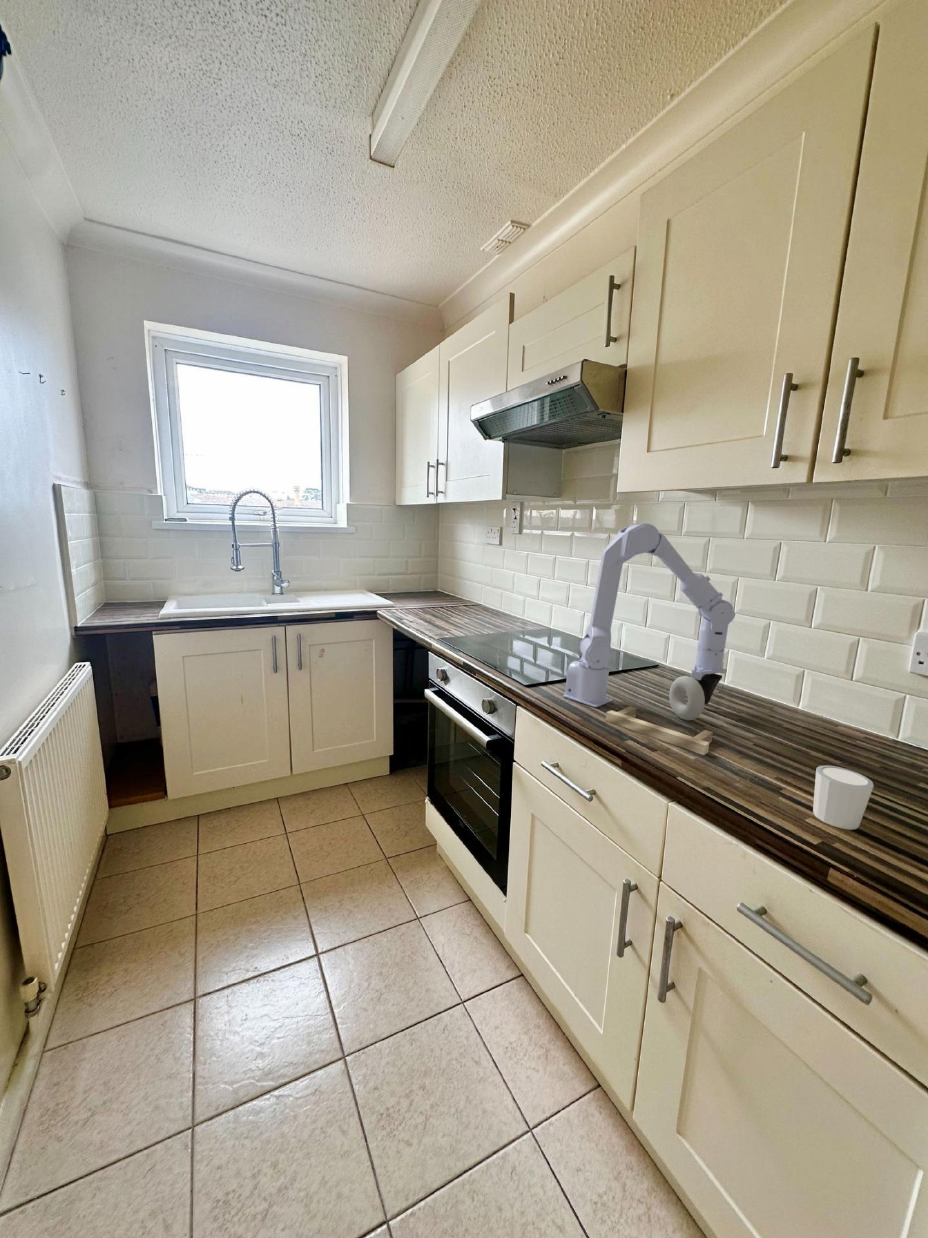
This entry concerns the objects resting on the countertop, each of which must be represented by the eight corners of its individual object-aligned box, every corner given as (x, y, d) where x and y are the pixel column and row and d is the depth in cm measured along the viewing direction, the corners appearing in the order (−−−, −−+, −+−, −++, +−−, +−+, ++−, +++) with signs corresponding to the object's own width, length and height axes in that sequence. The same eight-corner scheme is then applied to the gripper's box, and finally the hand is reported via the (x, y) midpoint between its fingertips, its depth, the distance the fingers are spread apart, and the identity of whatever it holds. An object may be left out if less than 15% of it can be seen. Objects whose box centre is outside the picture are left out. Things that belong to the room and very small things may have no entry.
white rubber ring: (704, 727, 107) (711, 683, 106) (691, 728, 107) (697, 684, 105) (676, 710, 117) (681, 670, 115) (663, 711, 116) (668, 670, 114)
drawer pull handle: (605, 720, 108) (606, 712, 108) (623, 712, 114) (624, 704, 113) (703, 755, 94) (705, 745, 93) (719, 744, 99) (720, 734, 99)
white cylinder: (872, 837, 70) (882, 792, 69) (815, 824, 72) (823, 781, 71) (854, 812, 76) (863, 770, 75) (802, 801, 79) (810, 761, 77)
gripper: (717, 656, 109) (708, 714, 111) (739, 647, 119) (731, 701, 121) (685, 649, 114) (677, 705, 116) (709, 642, 124) (701, 693, 126)
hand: (703, 702), depth 119 cm, fingers closed
